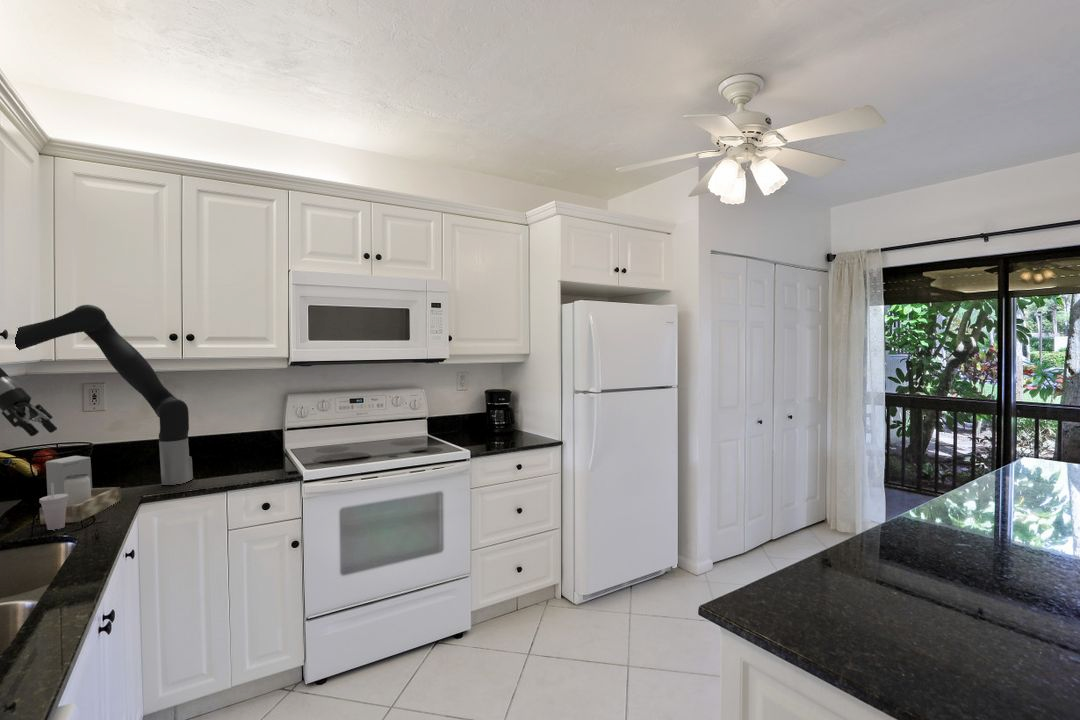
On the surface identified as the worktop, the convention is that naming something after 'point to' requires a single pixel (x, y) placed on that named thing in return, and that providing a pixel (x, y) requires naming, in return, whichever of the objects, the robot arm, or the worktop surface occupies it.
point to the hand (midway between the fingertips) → (45, 432)
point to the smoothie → (54, 509)
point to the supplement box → (66, 471)
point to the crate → (90, 504)
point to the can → (77, 488)
